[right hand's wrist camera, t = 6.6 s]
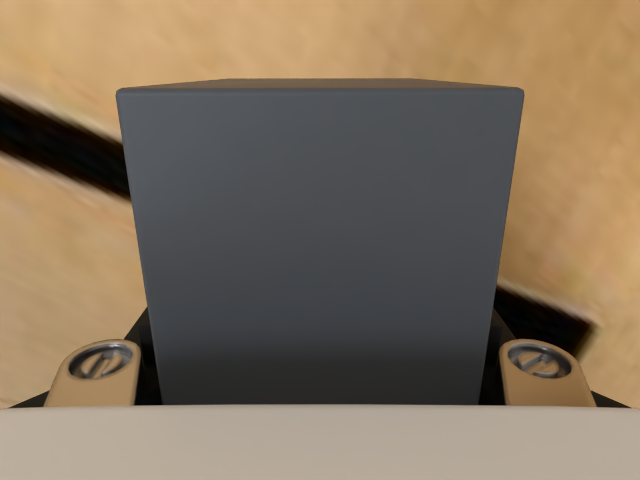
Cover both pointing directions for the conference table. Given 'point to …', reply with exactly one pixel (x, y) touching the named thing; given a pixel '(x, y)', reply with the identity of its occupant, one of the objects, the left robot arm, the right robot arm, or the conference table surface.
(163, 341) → the bar
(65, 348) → the conference table surface
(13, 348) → the conference table surface
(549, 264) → the conference table surface
